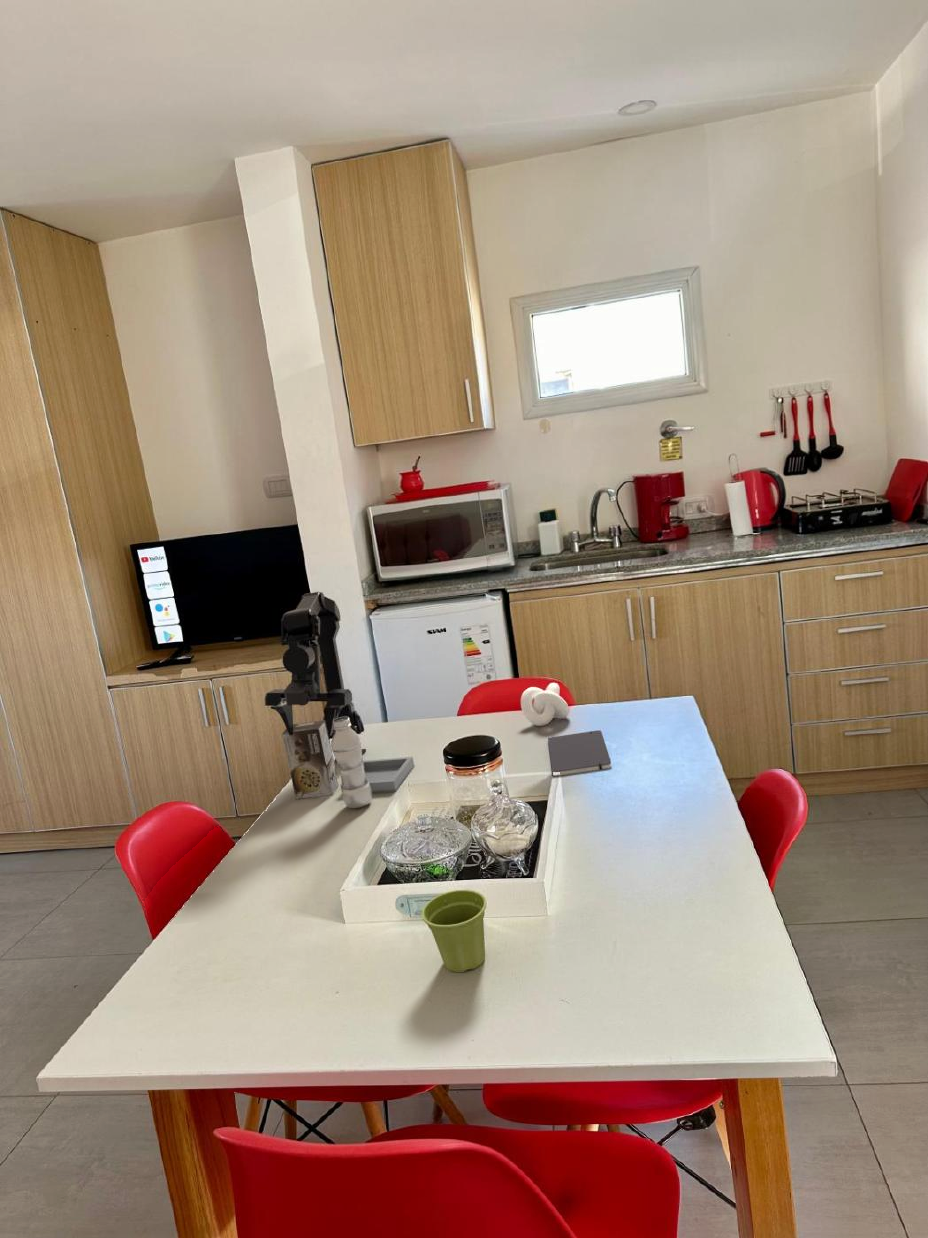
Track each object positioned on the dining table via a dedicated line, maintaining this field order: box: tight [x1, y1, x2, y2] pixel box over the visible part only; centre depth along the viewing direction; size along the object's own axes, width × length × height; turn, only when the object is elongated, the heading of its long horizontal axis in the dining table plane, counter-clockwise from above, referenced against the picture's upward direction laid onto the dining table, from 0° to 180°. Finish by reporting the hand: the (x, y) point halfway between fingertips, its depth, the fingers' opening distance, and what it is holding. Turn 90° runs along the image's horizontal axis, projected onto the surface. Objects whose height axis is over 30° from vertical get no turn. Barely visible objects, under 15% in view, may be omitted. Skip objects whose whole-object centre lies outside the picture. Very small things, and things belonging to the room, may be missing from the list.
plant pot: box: [421, 889, 487, 973], centre depth 124 cm, size 9×9×9 cm
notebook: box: [547, 729, 612, 776], centre depth 194 cm, size 13×2×21 cm
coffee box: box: [281, 719, 339, 800], centre depth 198 cm, size 9×6×16 cm
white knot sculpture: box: [520, 682, 570, 727], centre depth 219 cm, size 11×12×9 cm
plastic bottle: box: [330, 716, 373, 809], centre depth 186 cm, size 6×7×20 cm
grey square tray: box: [340, 756, 415, 794], centre depth 200 cm, size 14×13×2 cm
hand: (310, 735), depth 193 cm, fingers open, 9 cm apart
